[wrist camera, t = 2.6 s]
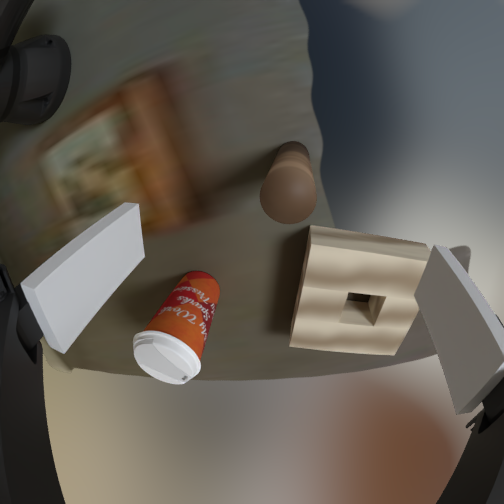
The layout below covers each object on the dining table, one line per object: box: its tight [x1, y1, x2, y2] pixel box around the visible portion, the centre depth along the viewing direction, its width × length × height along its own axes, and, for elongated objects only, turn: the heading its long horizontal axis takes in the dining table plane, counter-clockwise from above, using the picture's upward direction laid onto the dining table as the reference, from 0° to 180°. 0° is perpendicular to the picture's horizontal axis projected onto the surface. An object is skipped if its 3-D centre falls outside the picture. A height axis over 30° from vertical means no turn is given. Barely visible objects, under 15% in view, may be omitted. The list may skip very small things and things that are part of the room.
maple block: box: [289, 225, 431, 355], centre depth 35 cm, size 16×16×5 cm
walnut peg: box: [260, 141, 317, 224], centre depth 23 cm, size 4×4×15 cm
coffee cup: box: [133, 271, 220, 384], centre depth 35 cm, size 8×8×15 cm
